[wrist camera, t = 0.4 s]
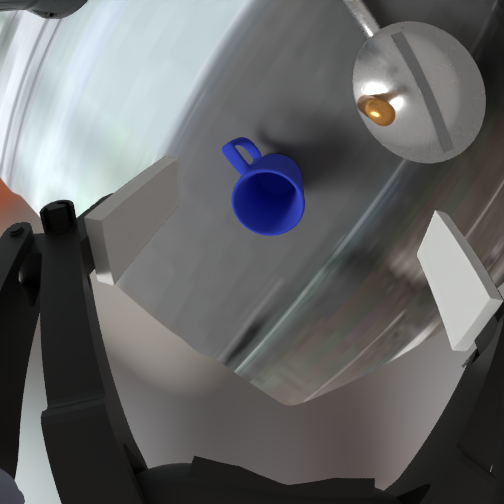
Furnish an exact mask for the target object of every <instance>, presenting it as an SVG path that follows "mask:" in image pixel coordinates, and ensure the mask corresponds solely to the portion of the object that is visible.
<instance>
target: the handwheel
mask: <svg viewBox="0 0 504 504" xmlns="http://www.w3.org/2000/svg"><path fill="white" fill-rule="evenodd" d="M352 92H353V98H354V102H355V105H356V108H357V111H358V113H359V115H360V117H361V119H362V121H363V122H364V124H365V126H366V127H367V129H368V130H369V131H370V133H371V134H372V135H373V136H374V137H375V138H376V139H377V140H378V141H379V142H380V143H381V144H382V145H383V146H384V147H386V148H387V149H388V150H390V151H391V152H393V153H394V154H396V155H398V156H400V157H402V158H405V159H408V160H410V161H415V162H419V163H437V162H442V161H445V160H448V159H451V158H453V157H455V156H457V155H459V154H460V153H461V152H463V151H464V150H465V149H466V148H467V147H468V146H469V145H470V144H471V143H472V142H473V140H474V139H475V138H476V136H477V134H478V133H479V130H480V128H481V126H482V123H483V119H484V115H485V108H486V96H485V88H484V83H483V80H482V77H481V74H480V71H479V69H478V67H477V65H476V63H475V61H474V60H473V58H472V56H471V55H470V54H469V52H468V51H467V50H466V48H465V47H464V46H463V45H462V44H461V43H460V42H459V41H458V40H456V39H455V38H454V37H453V36H451V35H450V34H448V33H447V32H445V31H444V30H442V29H440V28H437V27H435V26H433V25H429V24H426V23H421V22H412V21H406V22H398V23H395V24H391V25H389V26H386V27H384V28H382V29H380V30H379V31H377V32H376V33H374V34H373V35H372V36H371V37H370V38H369V39H368V40H367V41H366V42H365V43H364V44H363V46H362V47H361V49H360V51H359V52H358V54H357V57H356V59H355V62H354V66H353V71H352Z"/></svg>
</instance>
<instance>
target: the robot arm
mask: <svg viewBox="0 0 504 504" xmlns="http://www.w3.org/2000/svg"><path fill="white" fill-rule="evenodd" d="M86 1H87V0H0V11H12V10H27V11H29V12H31V13H33V14H36V15H38V16H40V17H42V18H46V19H61V18H64V17H67V16H69V15H71V14H72V13H74V12H75V11H77V10H78V9H79V8H80V7H81V6H82V5H83V4H84V3H85V2H86ZM178 174H179V157H170V156H164V157H163V158H161V159H160V160H158V161H157V162H156V163H154V164H153V165H151V166H150V167H148V168H147V169H146V170H144V171H143V172H141V173H140V174H139V175H137V176H136V177H135V178H133V179H132V180H130V181H129V182H128V183H126V184H125V185H124V186H122V187H121V188H120V189H119V190H117V191H116V192H115V193H111V194H109V195H107V196H105V197H102V198H101V199H100V200H99V201H97V202H96V203H95V204H93V205H92V206H91V207H90V209H87V210H86V211H85V212H84V213H82V214H81V215H80V216H79V217H77V218H76V214H75V209H74V204H73V202H72V201H70V200H58V201H54V202H51V203H49V204H47V205H46V206H44V207H43V208H42V209H41V211H40V217H41V221H42V225H43V229H44V233H40V234H33V231H32V227H31V225H30V223H27V222H21V223H15V224H13V225H12V226H11V227H9V228H8V229H7V230H6V231H5V232H4V233H3V235H2V236H1V238H0V504H24V502H25V500H24V496H23V494H22V492H21V491H19V489H18V487H17V485H16V483H15V481H14V480H15V475H16V469H17V462H18V451H19V435H20V421H21V410H22V401H23V400H22V399H23V393H24V386H25V379H26V373H27V367H28V361H29V356H30V351H31V346H32V341H33V337H34V332H35V329H36V325H37V320H38V317H39V313H40V323H41V324H40V326H41V348H42V361H43V372H44V381H45V389H46V396H47V404H48V407H47V410H45V411H42V415H41V426H42V431H43V436H44V441H45V446H46V451H47V455H48V459H49V463H50V467H51V471H52V474H53V477H54V481H55V485H56V488H57V491H58V494H59V497H60V500H61V503H62V504H504V299H503V298H502V296H501V294H500V292H499V290H497V287H496V285H495V284H494V283H493V280H492V278H491V277H490V275H489V274H488V273H487V271H486V270H485V268H484V267H483V265H482V263H481V262H480V260H479V259H478V257H477V256H476V254H475V253H474V251H473V250H472V248H471V247H470V245H469V244H468V242H467V241H466V239H465V238H464V236H463V235H462V234H461V232H460V231H459V229H458V228H457V227H456V225H455V224H454V223H453V221H452V220H451V219H450V217H449V216H448V215H447V214H446V213H443V212H440V211H436V210H435V212H434V215H433V217H432V220H431V222H430V225H429V227H428V229H427V232H426V234H425V236H424V239H423V241H422V243H421V246H420V248H419V250H418V252H417V256H418V259H419V261H420V263H421V266H422V268H423V270H424V273H425V275H426V277H427V280H428V282H429V285H430V287H431V290H432V292H433V295H434V298H435V300H436V303H437V306H438V308H439V311H440V314H441V317H442V320H443V323H444V325H445V328H446V331H447V334H448V338H449V341H450V344H451V347H452V350H456V351H467V349H468V348H469V347H470V346H471V345H472V343H473V342H474V341H475V344H476V346H477V349H476V350H475V351H474V352H473V353H472V355H471V356H470V357H469V358H468V360H466V362H465V363H464V364H463V365H462V367H464V366H465V365H467V366H466V368H465V371H464V373H463V375H462V377H461V379H460V381H459V383H458V385H457V387H456V389H455V391H454V393H453V395H452V396H451V398H450V400H449V402H448V404H447V406H446V408H445V409H444V411H443V413H442V415H441V416H440V418H439V420H438V422H437V423H436V425H435V426H434V428H433V430H432V431H431V433H430V434H429V436H428V438H427V439H426V441H425V442H424V444H423V446H422V447H421V448H420V450H419V451H418V453H417V454H416V456H415V457H414V459H413V460H412V461H411V463H410V464H409V465H408V467H407V468H406V469H405V471H404V472H403V473H402V475H401V476H400V477H399V478H398V480H396V481H395V482H394V483H393V484H392V485H391V486H389V487H388V488H387V489H385V490H384V491H383V490H380V489H378V488H375V487H374V486H375V479H374V478H371V479H370V478H366V479H365V478H360V479H358V478H356V479H355V478H353V479H352V478H332V479H326V480H321V481H315V482H308V483H302V484H294V485H285V484H282V483H279V482H276V481H274V480H271V479H268V478H266V477H263V476H261V475H258V474H256V473H254V472H251V471H249V470H247V469H244V468H242V467H240V466H235V465H230V464H225V463H221V462H216V461H213V460H209V459H205V458H201V457H197V456H194V458H193V461H192V463H176V464H167V465H161V466H157V467H153V468H150V469H148V467H147V465H146V463H145V460H144V458H143V456H142V454H141V452H140V450H139V448H138V446H137V444H136V442H135V440H134V438H133V435H132V433H131V430H130V428H129V425H128V422H127V419H126V417H125V414H124V411H123V408H122V405H121V402H120V399H119V396H118V393H117V390H116V386H115V383H114V380H113V376H112V373H111V369H110V366H109V362H108V358H107V355H106V351H105V347H104V343H103V339H102V334H101V330H100V325H99V321H98V316H97V311H96V306H95V301H94V295H93V290H92V284H91V279H90V276H89V275H90V274H91V272H92V271H93V270H94V269H95V271H96V275H97V279H98V281H100V282H104V283H107V284H111V285H115V284H116V282H117V281H118V280H119V278H120V277H121V276H122V274H123V273H124V272H125V271H126V269H127V268H128V267H129V265H130V264H131V263H132V262H133V260H134V259H135V258H136V257H137V255H138V254H139V253H140V252H141V250H142V249H143V248H144V247H145V245H146V244H147V243H148V242H149V241H150V239H151V238H152V237H153V236H154V234H155V233H156V232H157V231H158V230H159V229H160V227H161V226H162V225H163V224H164V223H165V221H166V220H167V219H168V218H169V217H170V216H171V214H172V213H173V212H174V211H175V210H176V209H177V207H178ZM491 466H492V469H491ZM490 469H491V472H490Z"/></svg>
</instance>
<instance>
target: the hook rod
mask: <svg viewBox="0 0 504 504" xmlns="http://www.w3.org/2000/svg"><path fill="white" fill-rule="evenodd" d="M341 1H342V2H343V4H344V5H345V7H346V8H347V9H348V11H349V12H350V14H351V15H352V17H353V18H354V20H355V21H356V23H357V24H358V26H359V27H360V29H361V31H362V32H363V34H364V35H365V37H366V39H367V40H368V39H369V38H370V37H371V36H372V35H373V34H374V33H376V32H377V31H379V30H380V29H381V27H380V25H379V24H378V22H377V21H376V19H375V18H374V16H373V14H372V13H371V11H370V10H369V8H368V7H367V5H366V4H365V3H364V1H363V0H341Z"/></svg>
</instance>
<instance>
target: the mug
mask: <svg viewBox="0 0 504 504" xmlns="http://www.w3.org/2000/svg"><path fill="white" fill-rule="evenodd" d="M236 145H240V146H242V147H244V148H245V149H246V150H247V151H248V152H249V153H250V155H251V156H252V158H253V160H254V161H253V163H252V164H251V165H249V164H248V163H247V162H246V161H245V160H244V158H243V157H242V156H241V154H240V153H239V152H238V150H237V149H236V148H235V146H236ZM222 152H223V154H224V155H225V156H226V158H227V159H228V160H229V161H230V163H231V164H232V165H233V166H234V168H235V169H236V170H237V171H238V172H239V173H240V174H241V177H240V179H239V180H238V182H237V183H236V185H235V187H234V189H233V192H232V207H233V211H234V213H235V215H236V217H237V218H238V220H239V221H240V222H241V223H242V224H243V225H244V226H245V227H246V228H248V229H249V230H251V231H253V232H255V233H258V234H261V235H268V236H273V235H280V234H283V233H286V232H288V231H289V230H291V229H292V228H294V227H295V226H296V225H297V224H298V222H299V221H300V219H301V218H302V215H303V213H304V208H305V199H304V191H303V182H302V175H301V171H300V169H299V167H298V166H297V164H296V163H295V162H294V161H293V160H292V159H291V158H289V157H287V156H285V155H281V154H270V155H266V156H264V157H261V153H260V151H259V150H258V148H257V147H256V146H255V145H254V143H253V142H252V141H250V140H249V139H247V138H244V137H240V138H237V139H234V140H232V141H230V142H228V143H227V144H226V145H224V146H223V147H222Z"/></svg>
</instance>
